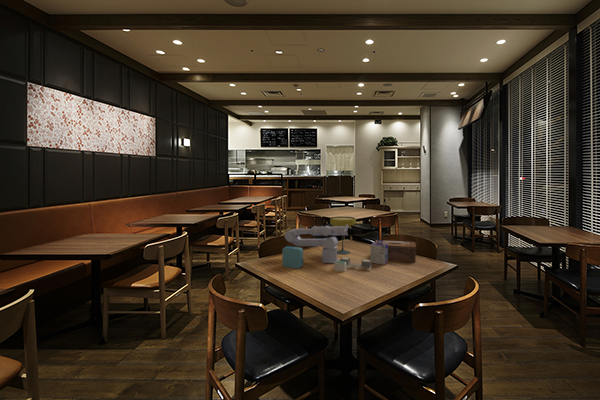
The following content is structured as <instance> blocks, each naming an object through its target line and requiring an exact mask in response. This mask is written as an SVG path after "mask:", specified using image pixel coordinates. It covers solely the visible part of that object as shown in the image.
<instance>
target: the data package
mask: <svg viewBox="0 0 600 400" xmlns="http://www.w3.org/2000/svg"><path fill="white" fill-rule="evenodd" d="M281 252H282V255H281V256H282V267H284V268H291V269H299V270H300V269H301V268H302V267H303V266H304V249H303V247H301V246H290V245H289V246H288V245H287V246H285V247H283V248H282V251H281Z"/></svg>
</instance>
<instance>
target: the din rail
mask: <svg viewBox="0 0 600 400" xmlns="http://www.w3.org/2000/svg"><path fill="white" fill-rule="evenodd" d="M372 265H373V264H371V266H370V267H362V266H361V263H355V262H350V263H349V265H346V266H353V267H362V268H371V267H372ZM372 268H373V267H372Z"/></svg>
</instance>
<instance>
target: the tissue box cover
mask: <svg viewBox="0 0 600 400" xmlns="http://www.w3.org/2000/svg"><path fill="white" fill-rule="evenodd" d="M377 240H378V239H376V240H375V242H374V243H377ZM382 240H383V244H388V261H397V262H399V261H400V262H412V263H415V262H416V258H417V256H416V255H417V254H416V253H417V251H416V250H417V245H416V242H414V241H402V240H400V241H399V240H384V239H382ZM378 242H381V241H378Z"/></svg>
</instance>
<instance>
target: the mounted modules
mask: <svg viewBox="0 0 600 400" xmlns="http://www.w3.org/2000/svg"><path fill="white" fill-rule="evenodd" d="M339 261H344V262H346V265H349V263H351V257H345V256H342V257H341V258H340V259H339ZM360 264H361V266H362V267H370V266H371V265H372V263H371V260H370V259H364V258H363V259H362V260H361V263H360Z"/></svg>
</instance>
